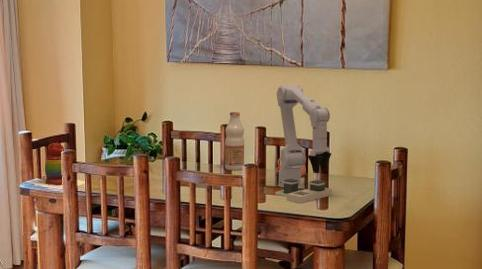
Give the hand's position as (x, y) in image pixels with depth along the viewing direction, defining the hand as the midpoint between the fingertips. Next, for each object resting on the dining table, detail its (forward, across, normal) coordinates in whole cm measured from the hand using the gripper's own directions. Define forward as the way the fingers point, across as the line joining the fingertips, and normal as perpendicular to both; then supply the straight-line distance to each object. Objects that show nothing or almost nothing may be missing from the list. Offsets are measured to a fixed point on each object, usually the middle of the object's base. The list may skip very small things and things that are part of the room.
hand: (319, 171), depth 280 cm
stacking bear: (+7, -33, +112) cm, 117 cm away
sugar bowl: (+9, +35, +30) cm, 47 cm away
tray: (+10, -2, +12) cm, 16 cm away
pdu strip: (+11, -4, +3) cm, 12 cm away
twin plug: (+10, +1, +2) cm, 10 cm away
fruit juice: (+7, +36, +61) cm, 71 cm away
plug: (+10, -3, +12) cm, 16 cm away
